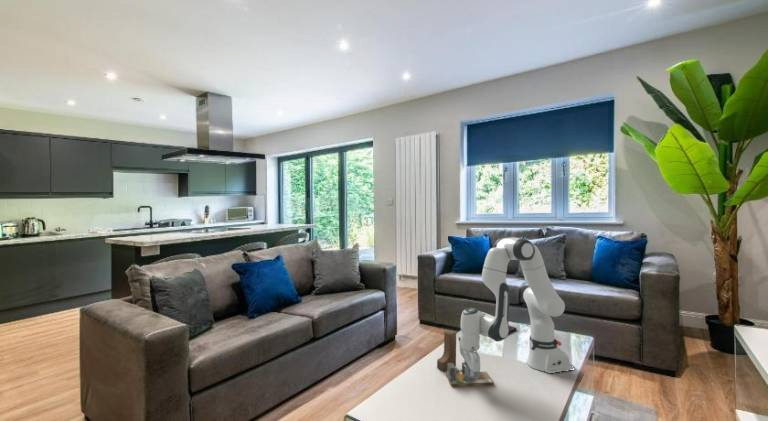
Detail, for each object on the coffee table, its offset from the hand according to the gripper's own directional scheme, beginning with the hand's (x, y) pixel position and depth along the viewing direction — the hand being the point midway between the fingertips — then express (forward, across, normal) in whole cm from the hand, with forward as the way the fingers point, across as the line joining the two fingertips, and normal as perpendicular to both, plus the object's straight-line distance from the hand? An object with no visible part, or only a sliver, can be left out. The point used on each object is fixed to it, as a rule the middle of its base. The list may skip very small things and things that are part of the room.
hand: (469, 372), depth 167 cm
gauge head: (+2, -1, +1) cm, 3 cm away
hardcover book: (+5, +59, -36) cm, 69 cm away
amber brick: (+2, -4, +5) cm, 7 cm away
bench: (+4, 0, 0) cm, 4 cm away
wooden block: (+4, +13, +8) cm, 16 cm away
